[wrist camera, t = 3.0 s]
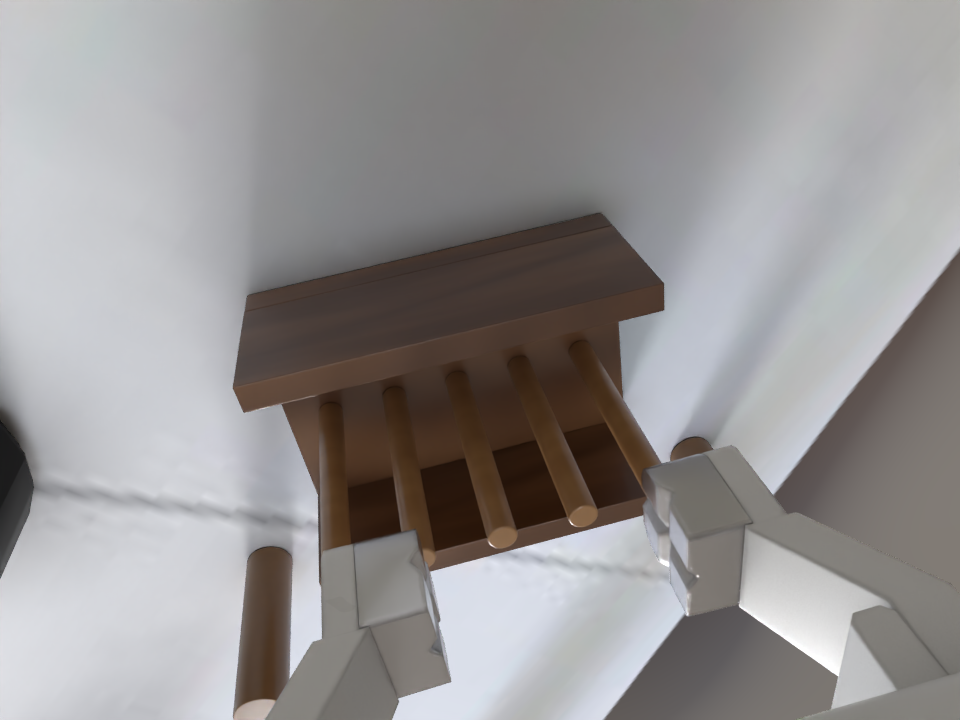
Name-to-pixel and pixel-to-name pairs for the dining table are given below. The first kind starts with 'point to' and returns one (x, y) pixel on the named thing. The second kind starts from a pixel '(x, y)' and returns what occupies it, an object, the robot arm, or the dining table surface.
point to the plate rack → (461, 390)
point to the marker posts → (271, 621)
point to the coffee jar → (12, 494)
